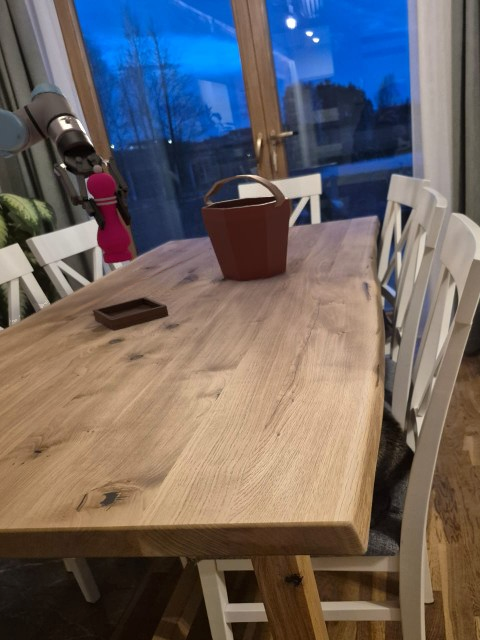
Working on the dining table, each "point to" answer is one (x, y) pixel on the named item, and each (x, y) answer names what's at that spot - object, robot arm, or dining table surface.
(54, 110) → the robot arm
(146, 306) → the base tray
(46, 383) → the dining table surface
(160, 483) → the dining table surface
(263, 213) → the bucket
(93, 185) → the pepper mill
